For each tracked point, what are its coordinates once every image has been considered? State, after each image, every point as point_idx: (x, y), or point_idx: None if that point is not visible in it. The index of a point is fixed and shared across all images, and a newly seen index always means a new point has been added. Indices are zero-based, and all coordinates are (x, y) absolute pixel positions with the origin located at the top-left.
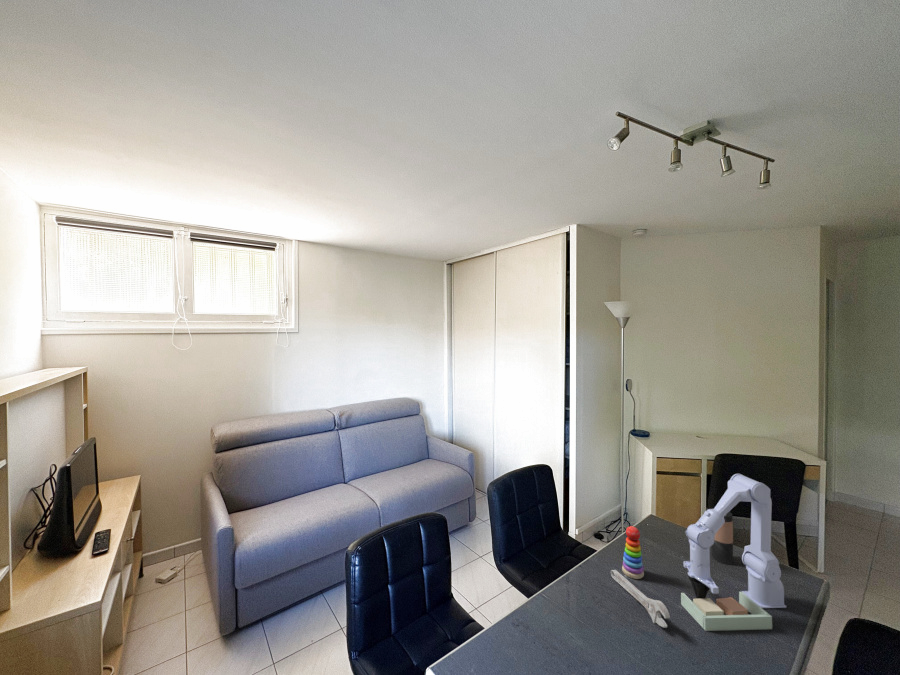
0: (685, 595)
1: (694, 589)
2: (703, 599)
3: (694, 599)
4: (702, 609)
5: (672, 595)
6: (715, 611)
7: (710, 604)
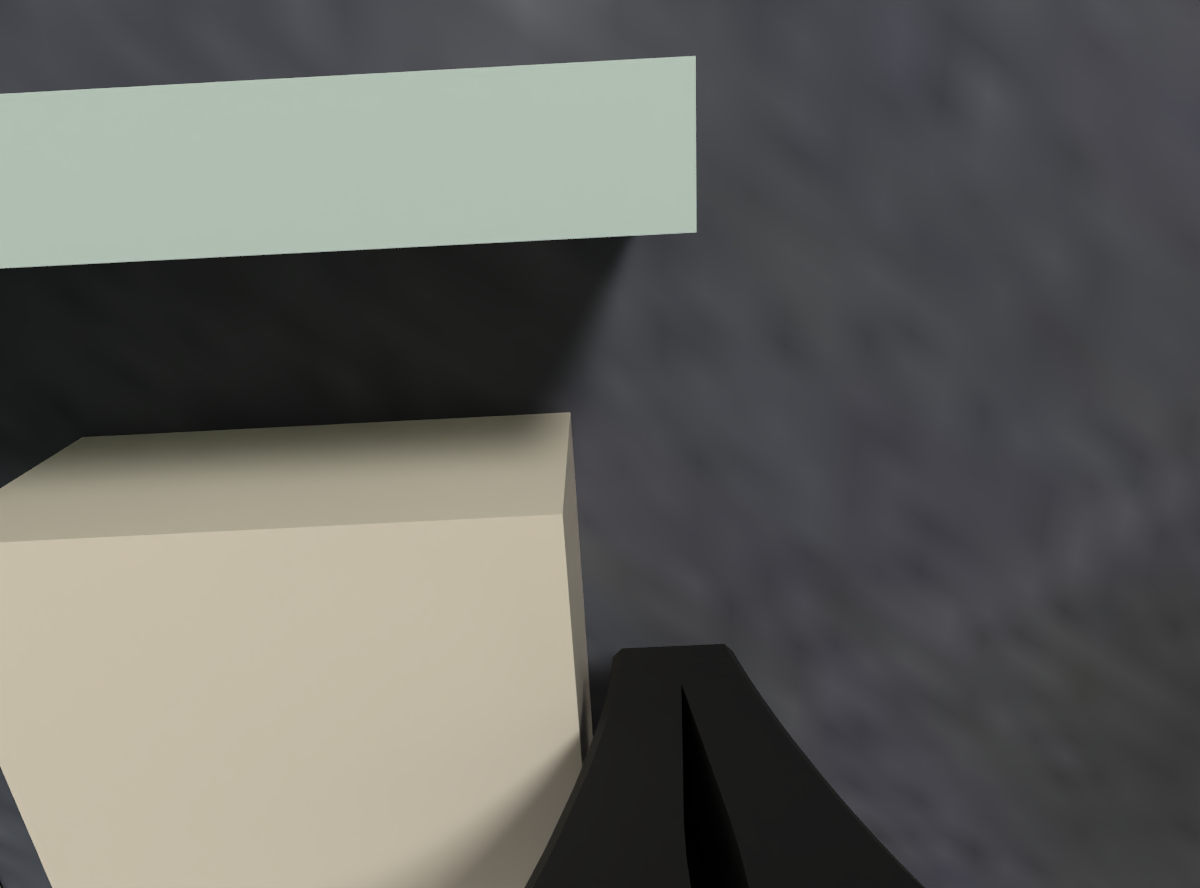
0: (477, 191)
1: (805, 827)
2: (537, 795)
3: (517, 532)
4: (109, 515)
5: (1076, 40)
6: (24, 812)
7: (321, 851)
